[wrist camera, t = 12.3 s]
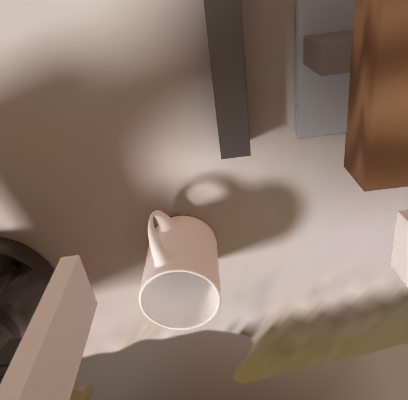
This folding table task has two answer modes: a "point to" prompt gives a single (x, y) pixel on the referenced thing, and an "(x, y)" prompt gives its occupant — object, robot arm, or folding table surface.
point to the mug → (180, 273)
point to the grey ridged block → (323, 66)
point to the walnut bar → (378, 96)
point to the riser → (228, 75)
